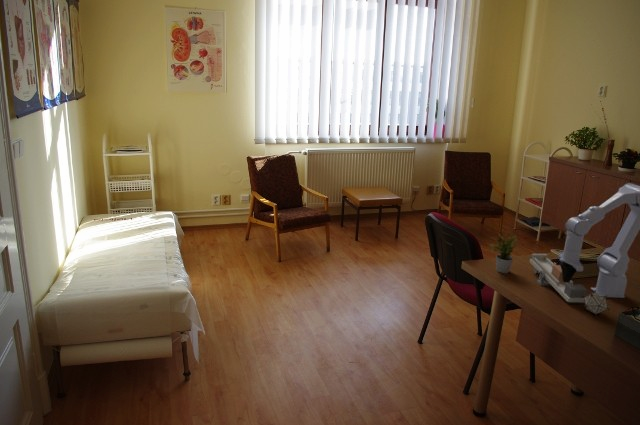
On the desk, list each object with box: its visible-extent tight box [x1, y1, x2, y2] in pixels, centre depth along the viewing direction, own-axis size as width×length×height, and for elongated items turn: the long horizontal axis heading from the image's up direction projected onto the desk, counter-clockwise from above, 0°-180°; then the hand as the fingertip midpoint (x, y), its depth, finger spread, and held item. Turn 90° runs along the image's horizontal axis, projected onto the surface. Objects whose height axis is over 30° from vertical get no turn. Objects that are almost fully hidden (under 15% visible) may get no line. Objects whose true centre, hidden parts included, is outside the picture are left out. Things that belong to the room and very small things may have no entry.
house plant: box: [488, 233, 521, 274], centre depth 213 cm, size 14×14×16 cm
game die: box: [582, 290, 611, 317], centre depth 178 cm, size 9×8×10 cm
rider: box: [551, 264, 566, 283], centre depth 197 cm, size 6×3×5 cm, turn 2°
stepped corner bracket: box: [533, 267, 583, 306], centre depth 199 cm, size 31×11×5 cm, turn 2°
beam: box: [529, 253, 588, 304], centre depth 199 cm, size 33×8×5 cm, turn 2°
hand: (566, 281), depth 192 cm, fingers closed
